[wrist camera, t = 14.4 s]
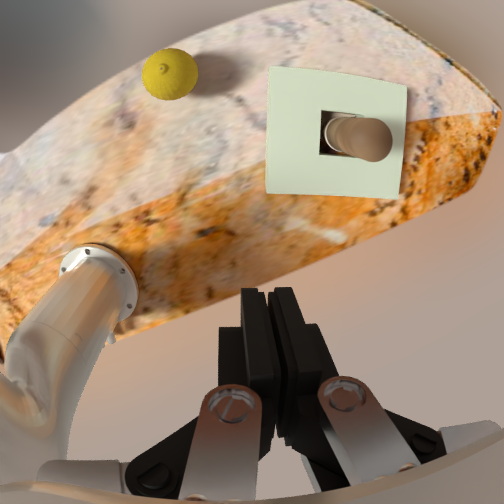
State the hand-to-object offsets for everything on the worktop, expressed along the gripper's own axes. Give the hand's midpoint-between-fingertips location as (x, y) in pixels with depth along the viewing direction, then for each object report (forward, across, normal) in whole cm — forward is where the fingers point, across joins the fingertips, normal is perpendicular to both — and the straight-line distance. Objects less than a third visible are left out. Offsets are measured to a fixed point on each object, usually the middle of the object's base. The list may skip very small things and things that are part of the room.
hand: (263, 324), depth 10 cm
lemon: (+27, +7, -12) cm, 30 cm away
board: (+26, -11, -6) cm, 29 cm away
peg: (+26, -11, -6) cm, 29 cm away
